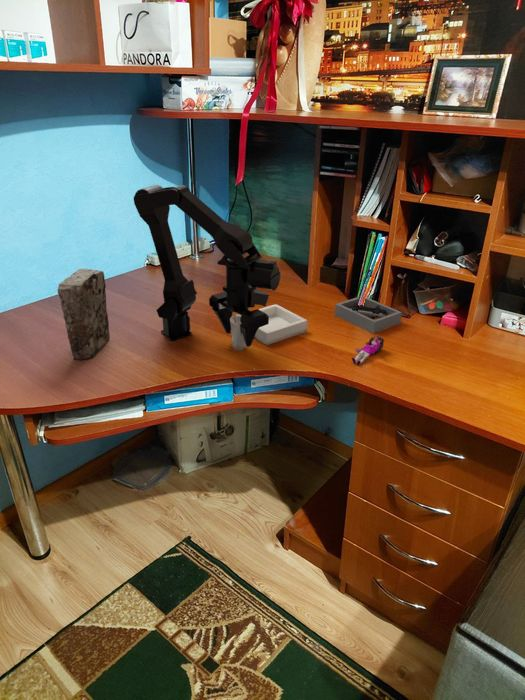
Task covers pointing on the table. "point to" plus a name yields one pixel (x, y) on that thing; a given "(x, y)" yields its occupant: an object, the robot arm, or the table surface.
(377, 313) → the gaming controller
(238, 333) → the milkshake
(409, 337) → the table surface
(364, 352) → the character figurine
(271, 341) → the tray
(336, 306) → the gray open box
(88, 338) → the stone block
